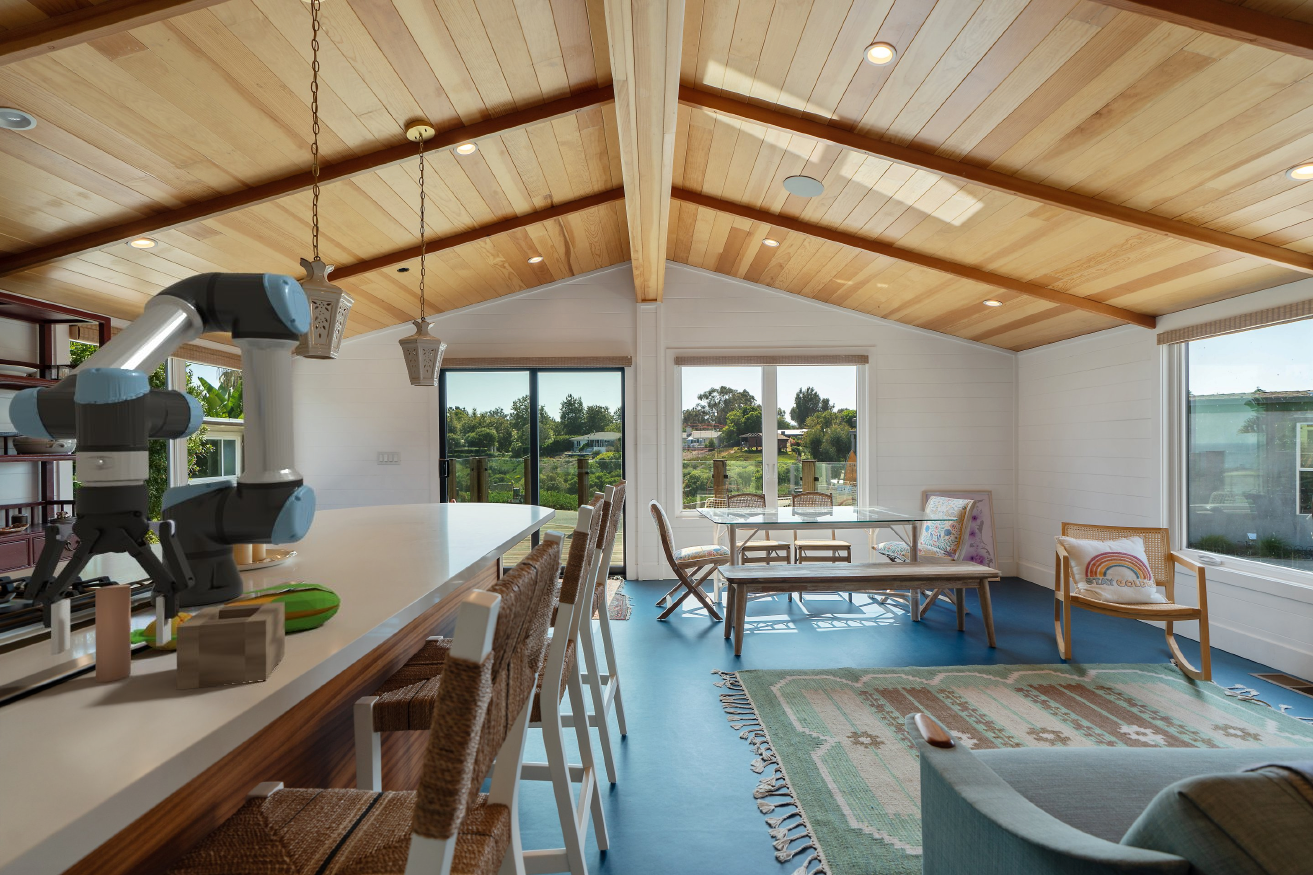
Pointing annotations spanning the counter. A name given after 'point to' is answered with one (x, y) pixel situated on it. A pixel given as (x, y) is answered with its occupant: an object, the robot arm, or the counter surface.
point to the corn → (300, 604)
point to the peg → (113, 632)
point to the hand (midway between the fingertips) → (113, 646)
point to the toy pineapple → (150, 633)
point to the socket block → (230, 645)
